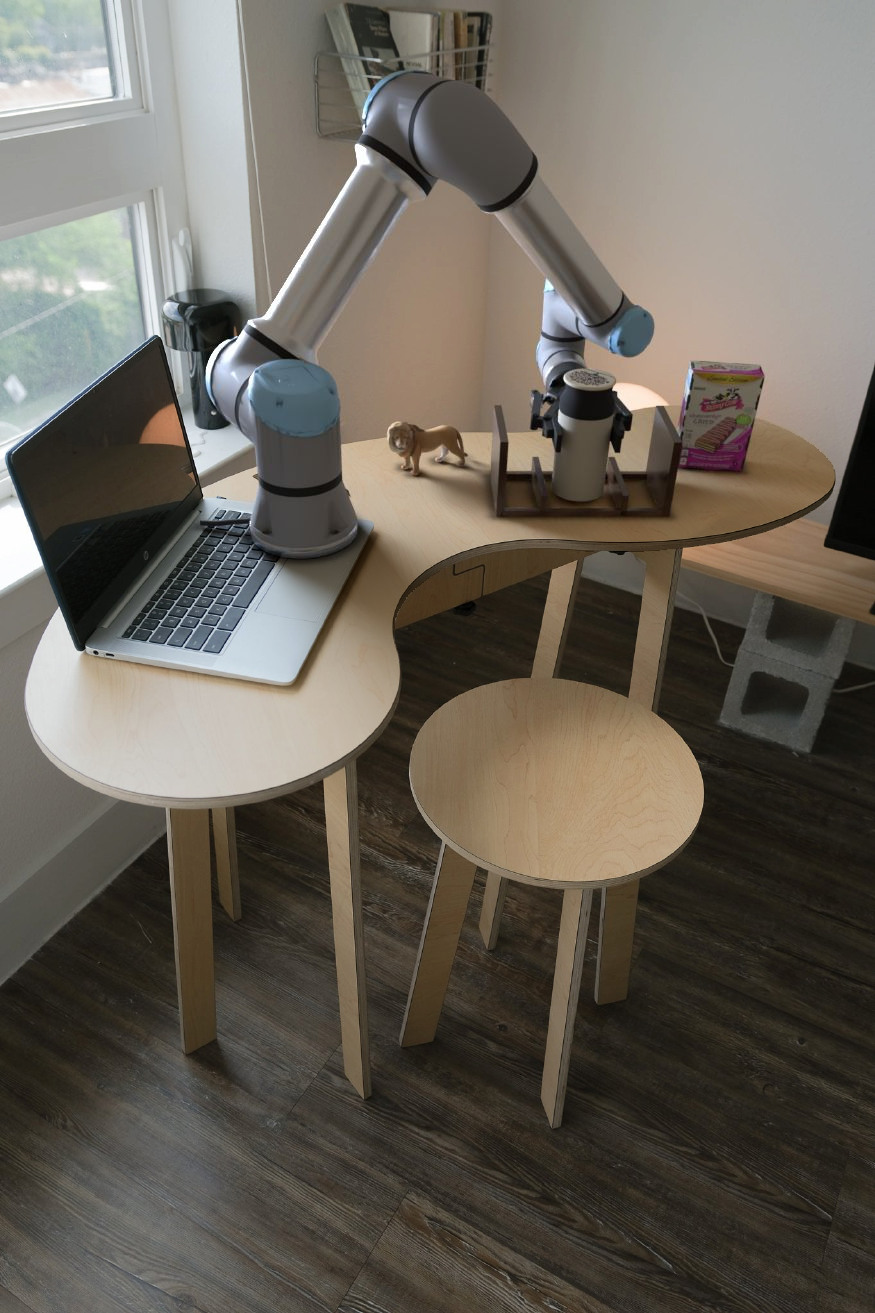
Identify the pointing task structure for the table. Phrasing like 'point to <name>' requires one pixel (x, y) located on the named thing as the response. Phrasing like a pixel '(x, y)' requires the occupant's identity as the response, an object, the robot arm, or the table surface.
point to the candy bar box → (718, 414)
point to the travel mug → (584, 434)
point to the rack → (657, 475)
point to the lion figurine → (424, 443)
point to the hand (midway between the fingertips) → (588, 444)
